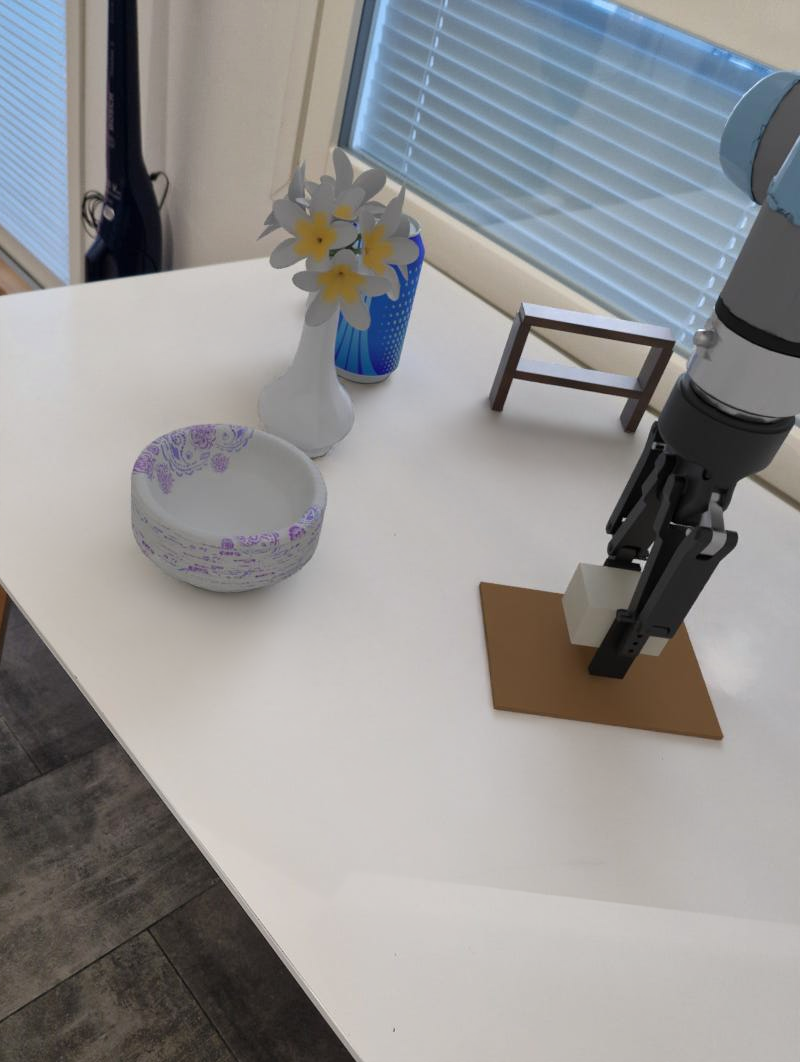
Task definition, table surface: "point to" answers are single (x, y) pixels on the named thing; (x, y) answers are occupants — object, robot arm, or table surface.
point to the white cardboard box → (601, 604)
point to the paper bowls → (226, 506)
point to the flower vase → (331, 292)
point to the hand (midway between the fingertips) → (599, 647)
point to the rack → (579, 378)
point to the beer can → (379, 325)
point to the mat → (562, 671)
